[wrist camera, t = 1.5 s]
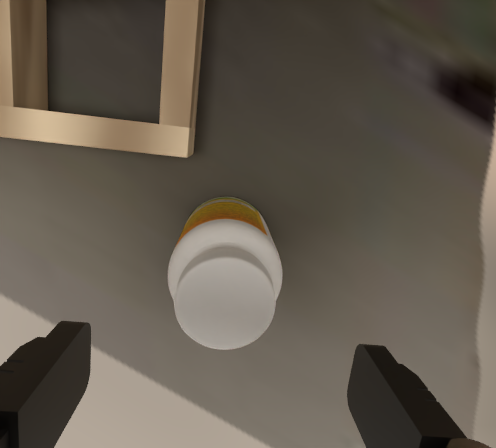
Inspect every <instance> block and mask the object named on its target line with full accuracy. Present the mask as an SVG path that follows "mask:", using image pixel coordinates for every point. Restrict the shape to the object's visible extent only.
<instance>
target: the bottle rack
mask: <svg viewBox="0 0 496 448" xmlns="http://www.w3.org/2000/svg"><path fill="white" fill-rule="evenodd" d="M204 10H205V0H166V9H165V27H164V46H163V64H162V82H161V100H160V119H159V124H154V123H145V122H137V121H128V120H120V119H111V118H103V117H95V116H86V115H78V114H69V113H61V112H52V111H48V74H47V9H46V0H0V137H6V138H15V139H24V140H33V141H42V142H51V143H60V144H69V145H78V146H87V147H96V148H105V149H114V150H123V151H131V152H140V153H149V154H158V155H167V156H176V157H185V158H187V157H189V156H191V155H192V154H193V152H194V139H195V126H196V113H197V100H198V88H199V75H200V62H201V49H202V36H203V23H204Z"/></svg>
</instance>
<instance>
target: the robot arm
mask: <svg viewBox="0 0 496 448" xmlns="http://www.w3.org/2000/svg"><path fill="white" fill-rule="evenodd" d="M90 355H91V327H90V324H89V323H84V322H71V321H61V322H59V323H58V324H57V326H56V327H55V328H54V329H53V330H52V331H51V332H50V333H49V334H48V335H47V337H46V338H44V337H37V338H35V339H33V340H32V341H30V342H28V343H26V344H24V345H22V346H20V347H19V348H18V349H17V350H16V351H15V352H14V353H13V354H12V355H11V356H10V357H9V358H8V359H7V362H4V363H3V364H2V365H1V366H0V448H54V446H55V445H56V443H57V441H58V439H59V437H60V436H61V434H62V432H63V430H64V428H65V427H66V425H67V423H68V421H69V420H70V418H71V416H72V414H73V413H74V411H75V409H76V407H77V405H78V404H79V402H80V400H81V398H82V396H83V395H84V393H85V391H86V388H87V384H88V381H89V376H90V357H91V356H90ZM347 399H348V406H349V409H350V412H351V414H352V416H353V419H354V421H355V423H356V425H357V428H358V430H359V432H360V434H361V437H362V439H363V441H364V443H365V446H366V448H491V447H489V446H487V445H485V444H483V443H481V442H478V441H475V440H472V439H468V438H467V437H466V436H465V435H464V433H463V432H462V431H461V430H460V428H459V427H458V426H457V425H456V423H455V422H454V421H453V420H452V418H451V417H450V416H449V415H448V413H447V412H446V411H445V410H444V408H443V407H442V406H441V405H440V403H439V402H437V401H436V398H435V397H434V396H433V394H432V393H431V392H430V391H428V388H427V387H426V386H425V384H424V383H423V382H422V381H421V379H420V378H419V377H418V376H417V375H416V374H415V373H413V372H412V371H411V370H409V369H408V368H407V367H405V366H404V365H403V364H398V363H397V361H396V360H395V359H394V357H393V356H392V355H391V353H390V352H389V351H388V350H387V348H386V347H385V346H379V345H366V344H359V345H358V346H357V348H356V350H355V355H354V359H353V364H352V369H351V374H350V379H349V384H348V390H347Z"/></svg>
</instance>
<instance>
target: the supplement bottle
mask: <svg viewBox="0 0 496 448" xmlns="http://www.w3.org/2000/svg"><path fill="white" fill-rule="evenodd" d="M281 285H282V266H281V260H280V257H279V254H278V251H277V249H276V246H275V244H274V242H273V239H272V237H271V234H270V232H269V229H268V227H267V225H266V223H265V221H264V219H263V217H262V216H261V214H260V213H259V211H258V210H257V209H256V208H254V207H253V206H252V205H251V204H249V203H248V202H246V201H244V200H241V199H238V198H234V197H218V198H214V199H211V200H208V201H206V202H204V203H202V204H201V205H200V206H198V207H197V208H196V209H195V210H194V211H193V213H192V214H191V215H190V217H189V218H188V220H187V222H186V224H185V226H184V229H183V231H182V233H181V236H180V238H179V240H178V242H177V244H176V246H175V249H174V251H173V253H172V256H171V259H170V262H169V267H168V286H169V290H170V293H171V296H172V298H173V300H174V309H175V314H176V318H177V320H178V322H179V324H180V326H181V328H182V329H183V330H184V332H185V333H186V334H187V335H188V336H189V337H190V338H192V339H193V340H194V341H196V342H197V343H199V344H201V345H203V346H206V347H209V348H213V349H220V350H227V349H236V348H240V347H243V346H245V345H248V344H250V343H252V342H253V341H255V340H256V339H257V338H259V337H260V336H261V335H262V334H263V333H264V332H265V331H266V329H267V328H268V326H269V325H270V323H271V321H272V319H273V316H274V312H275V306H276V300H277V298H278V295H279V293H280V289H281Z"/></svg>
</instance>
